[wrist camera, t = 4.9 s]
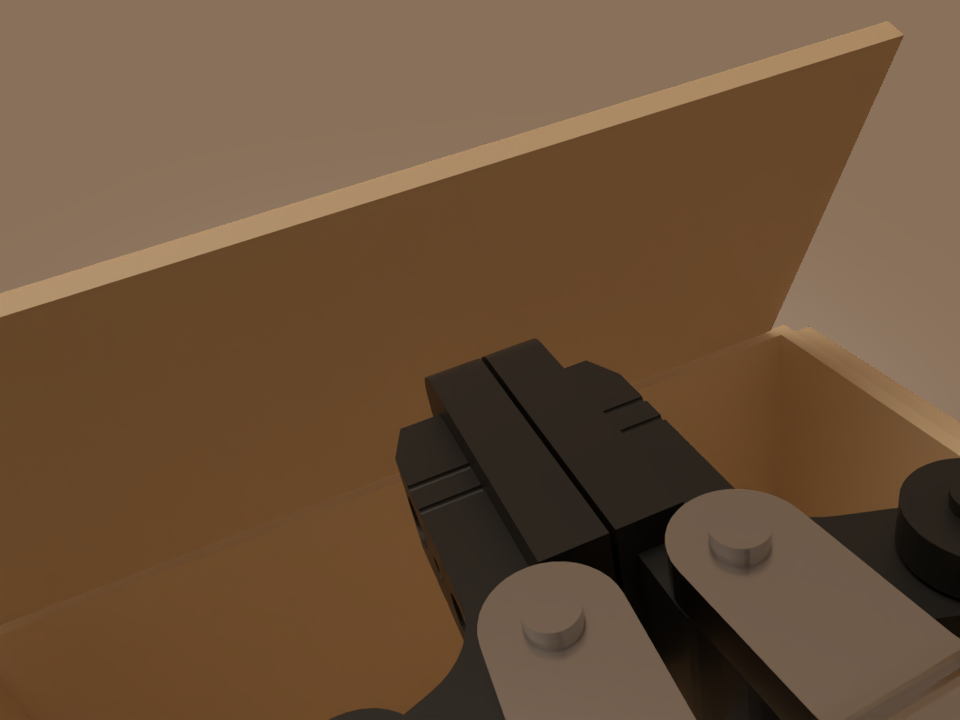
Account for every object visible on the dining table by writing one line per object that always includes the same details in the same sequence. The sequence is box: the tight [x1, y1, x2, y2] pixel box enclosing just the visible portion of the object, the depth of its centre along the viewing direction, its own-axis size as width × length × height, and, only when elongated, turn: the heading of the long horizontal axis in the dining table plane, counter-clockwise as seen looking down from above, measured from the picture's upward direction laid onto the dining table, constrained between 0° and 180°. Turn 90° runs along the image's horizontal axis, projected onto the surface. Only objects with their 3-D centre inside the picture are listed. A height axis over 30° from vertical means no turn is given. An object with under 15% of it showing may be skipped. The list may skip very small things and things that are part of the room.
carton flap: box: [0, 21, 904, 625], centre depth 19 cm, size 22×10×1 cm
